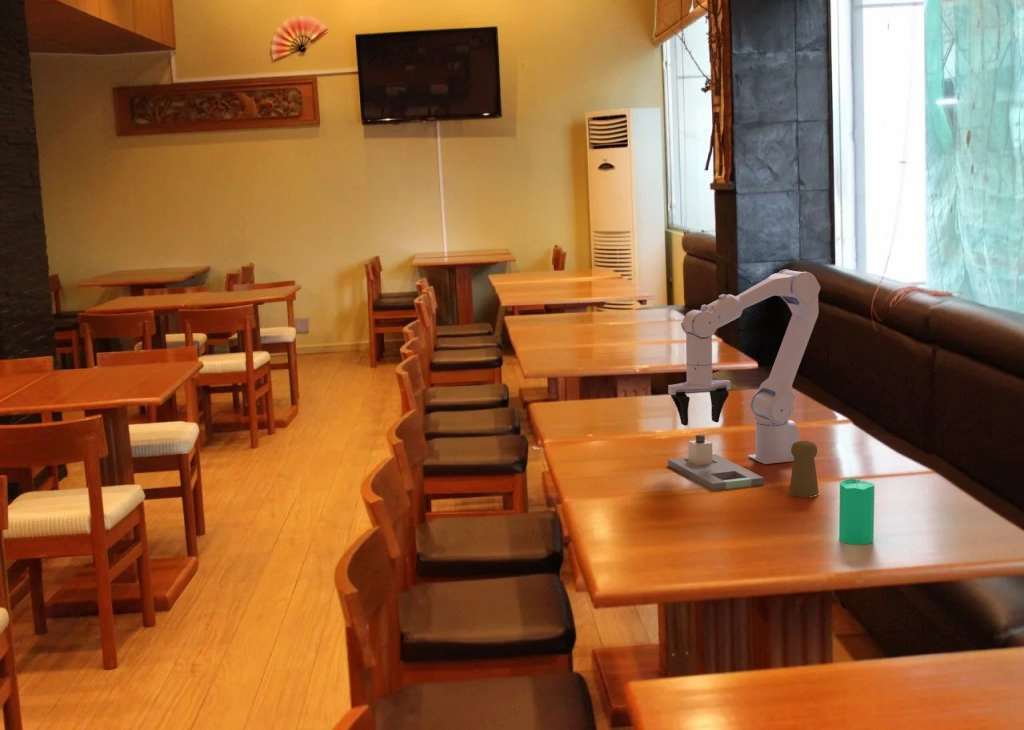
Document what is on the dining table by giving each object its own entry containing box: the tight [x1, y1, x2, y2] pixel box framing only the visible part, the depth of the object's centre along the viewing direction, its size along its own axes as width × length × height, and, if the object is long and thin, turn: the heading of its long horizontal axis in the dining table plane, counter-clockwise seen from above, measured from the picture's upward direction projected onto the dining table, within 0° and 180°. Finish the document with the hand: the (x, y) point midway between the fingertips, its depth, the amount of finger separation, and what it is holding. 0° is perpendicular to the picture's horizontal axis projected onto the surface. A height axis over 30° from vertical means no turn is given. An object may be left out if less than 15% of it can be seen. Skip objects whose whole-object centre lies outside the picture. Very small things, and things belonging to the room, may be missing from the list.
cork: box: [788, 440, 820, 498], centre depth 237 cm, size 6×6×11 cm
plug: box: [688, 434, 713, 465], centre depth 261 cm, size 4×4×8 cm
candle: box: [838, 474, 875, 546], centre depth 207 cm, size 6×6×12 cm
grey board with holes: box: [667, 453, 765, 491], centre depth 255 cm, size 12×23×2 cm, turn 16°
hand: (700, 423), depth 260 cm, fingers open, 7 cm apart
